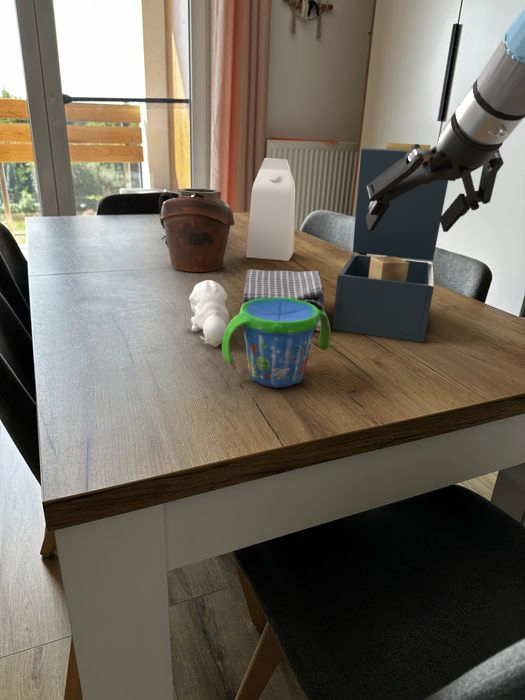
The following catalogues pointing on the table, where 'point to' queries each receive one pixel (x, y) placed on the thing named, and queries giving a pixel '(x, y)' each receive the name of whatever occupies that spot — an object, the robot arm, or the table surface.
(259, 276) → the towel
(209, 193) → the mug
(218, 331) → the white animal figurine
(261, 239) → the milk
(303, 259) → the table surface
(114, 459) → the table surface
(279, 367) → the snack cup
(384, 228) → the chest lid
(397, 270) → the beech block
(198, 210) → the brown pot
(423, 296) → the chest
